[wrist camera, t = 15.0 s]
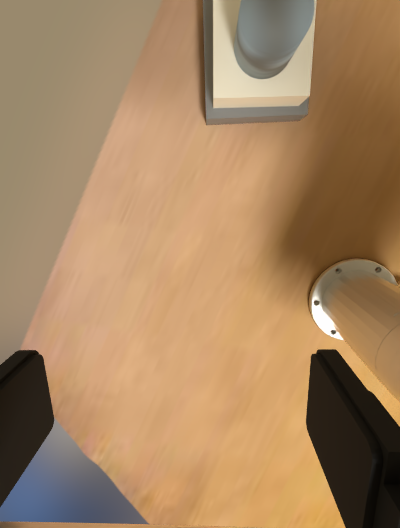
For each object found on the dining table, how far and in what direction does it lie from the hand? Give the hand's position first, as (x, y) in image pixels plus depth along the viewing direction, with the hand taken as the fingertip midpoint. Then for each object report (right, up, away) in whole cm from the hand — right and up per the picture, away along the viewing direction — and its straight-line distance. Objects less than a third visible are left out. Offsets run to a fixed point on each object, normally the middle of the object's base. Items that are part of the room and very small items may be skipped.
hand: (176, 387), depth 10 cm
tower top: (+7, +28, +23) cm, 37 cm away
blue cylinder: (+7, +26, +19) cm, 33 cm away
